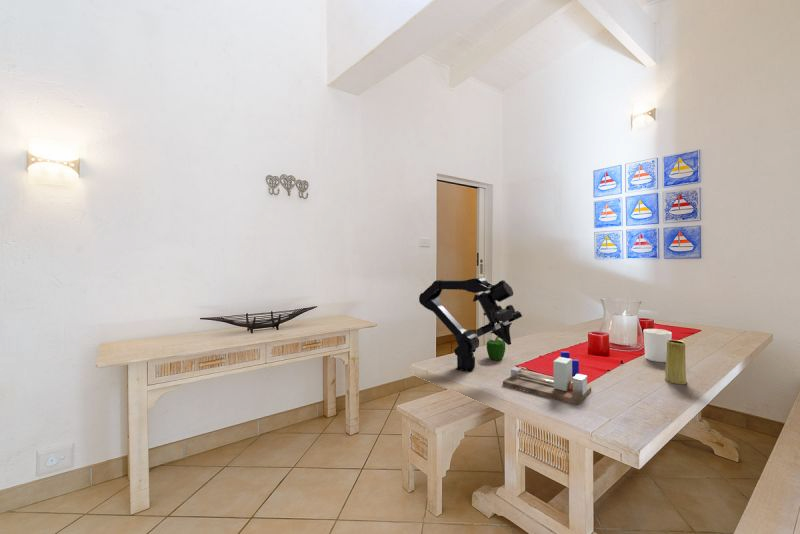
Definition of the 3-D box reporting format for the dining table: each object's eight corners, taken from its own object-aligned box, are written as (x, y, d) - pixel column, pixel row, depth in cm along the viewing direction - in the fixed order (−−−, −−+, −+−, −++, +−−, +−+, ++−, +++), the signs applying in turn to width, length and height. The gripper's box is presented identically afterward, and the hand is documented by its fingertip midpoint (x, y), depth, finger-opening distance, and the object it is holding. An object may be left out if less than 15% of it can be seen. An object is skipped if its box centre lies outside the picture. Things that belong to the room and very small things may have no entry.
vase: (682, 379, 125) (682, 340, 125) (689, 385, 120) (690, 344, 119) (661, 377, 127) (662, 339, 127) (668, 383, 122) (669, 343, 121)
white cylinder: (677, 362, 143) (678, 333, 142) (653, 363, 143) (653, 334, 143) (660, 355, 153) (660, 328, 152) (637, 356, 153) (637, 329, 152)
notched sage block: (553, 388, 116) (553, 361, 116) (559, 382, 120) (559, 356, 120) (566, 391, 113) (566, 363, 113) (572, 385, 118) (572, 358, 117)
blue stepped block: (556, 365, 144) (556, 351, 144) (568, 365, 143) (568, 351, 143) (566, 376, 132) (566, 360, 132) (578, 376, 131) (578, 360, 131)
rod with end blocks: (509, 380, 127) (509, 364, 127) (515, 376, 131) (515, 361, 131) (582, 397, 111) (582, 380, 110) (587, 393, 114) (587, 375, 114)
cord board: (502, 385, 124) (502, 380, 124) (519, 374, 135) (519, 370, 135) (578, 404, 107) (578, 399, 107) (591, 390, 117) (591, 386, 117)
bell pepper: (489, 361, 151) (489, 339, 150) (484, 356, 159) (484, 334, 158) (508, 361, 151) (508, 338, 150) (502, 355, 159) (502, 334, 159)
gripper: (480, 309, 124) (501, 350, 120) (519, 292, 131) (540, 330, 127) (467, 317, 134) (486, 355, 130) (504, 301, 141) (524, 337, 137)
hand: (509, 344), depth 131 cm, fingers closed
